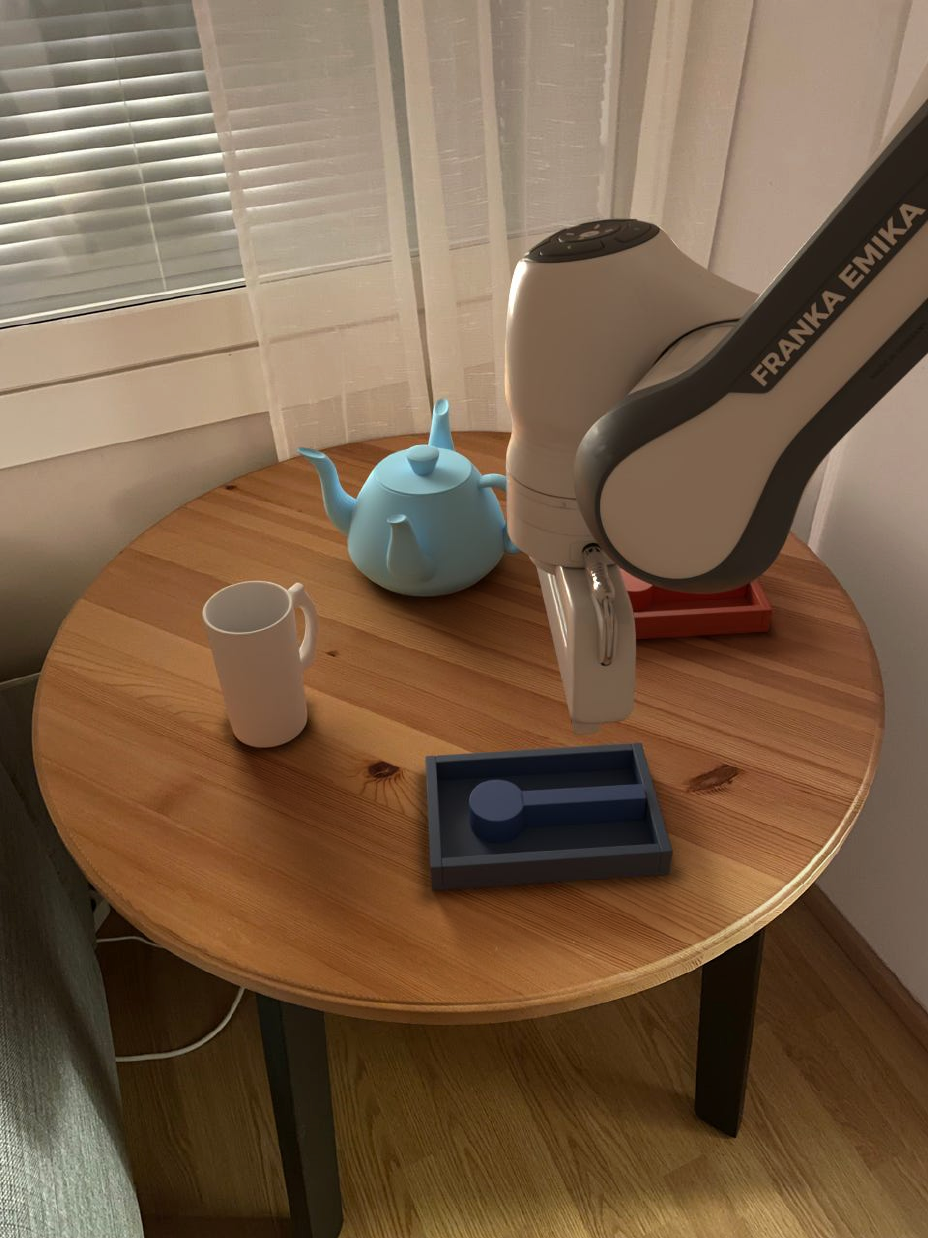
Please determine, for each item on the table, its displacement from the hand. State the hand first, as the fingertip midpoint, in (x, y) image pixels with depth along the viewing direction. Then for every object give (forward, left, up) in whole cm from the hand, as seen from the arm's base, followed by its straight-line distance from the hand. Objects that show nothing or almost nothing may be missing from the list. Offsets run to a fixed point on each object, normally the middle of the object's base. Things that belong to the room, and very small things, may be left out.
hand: (573, 679), depth 69 cm
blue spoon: (+1, +2, -12) cm, 12 cm away
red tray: (-13, -24, -12) cm, 29 cm away
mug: (+22, -12, -12) cm, 28 cm away
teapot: (+10, -34, -12) cm, 37 cm away
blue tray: (+2, +2, -12) cm, 12 cm away
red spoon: (-14, -24, -12) cm, 30 cm away
